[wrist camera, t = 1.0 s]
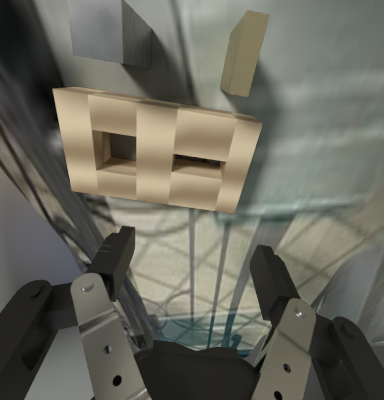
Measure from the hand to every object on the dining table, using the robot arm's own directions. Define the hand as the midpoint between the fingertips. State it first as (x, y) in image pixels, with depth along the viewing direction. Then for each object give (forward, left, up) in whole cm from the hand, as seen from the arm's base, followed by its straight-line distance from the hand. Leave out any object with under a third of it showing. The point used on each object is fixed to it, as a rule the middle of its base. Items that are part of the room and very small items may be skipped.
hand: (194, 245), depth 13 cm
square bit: (-11, -9, -18) cm, 23 cm away
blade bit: (-11, +2, -18) cm, 21 cm away
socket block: (0, -5, -18) cm, 19 cm away
